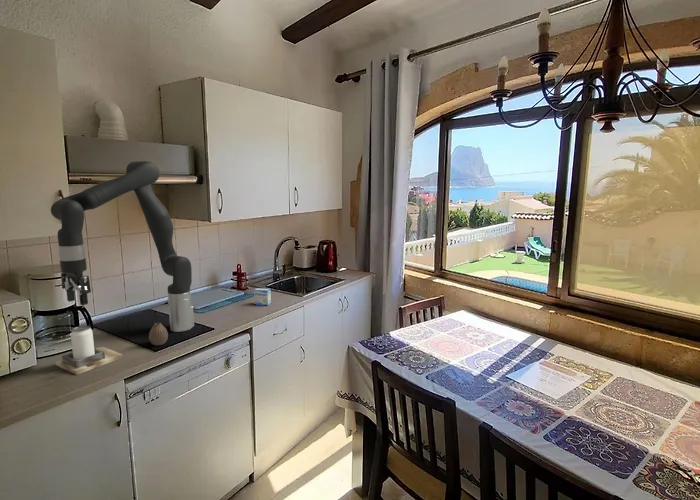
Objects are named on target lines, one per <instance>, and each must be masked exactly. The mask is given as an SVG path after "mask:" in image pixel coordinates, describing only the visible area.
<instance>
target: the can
mask: <svg viewBox="0 0 700 500" xmlns="http://www.w3.org/2000/svg"><path fill="white" fill-rule="evenodd" d="M70 339H71V340H70V341H71V350H72V352H73V358H74V359H75V360H80V359H83V358H86V357H89V356H92V355H95V351H94V348H95V343H94V334H93V329H92V328H91V326H90V325H82V326H80V325H79V326H76V327H74V328H72V329H71V333H70Z"/></svg>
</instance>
